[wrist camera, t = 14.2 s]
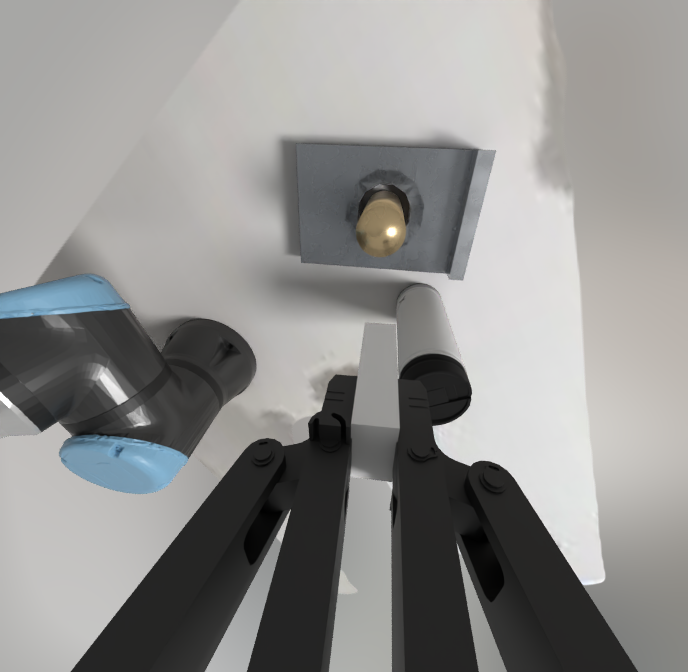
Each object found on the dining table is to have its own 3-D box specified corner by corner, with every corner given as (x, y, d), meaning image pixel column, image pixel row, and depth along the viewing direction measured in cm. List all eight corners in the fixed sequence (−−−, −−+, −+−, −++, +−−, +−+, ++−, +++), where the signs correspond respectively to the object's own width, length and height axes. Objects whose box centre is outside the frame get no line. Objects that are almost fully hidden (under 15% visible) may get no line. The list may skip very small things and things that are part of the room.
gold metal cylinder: (364, 227, 38) (354, 255, 28) (367, 189, 36) (357, 204, 25) (399, 230, 37) (402, 259, 27) (404, 191, 35) (409, 207, 25)
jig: (305, 256, 41) (297, 267, 37) (301, 144, 34) (290, 142, 30) (455, 267, 39) (462, 280, 35) (483, 150, 32) (496, 150, 28)
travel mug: (388, 292, 42) (385, 386, 25) (435, 277, 40) (467, 368, 23) (401, 329, 45) (407, 436, 28) (446, 316, 43) (482, 423, 26)
